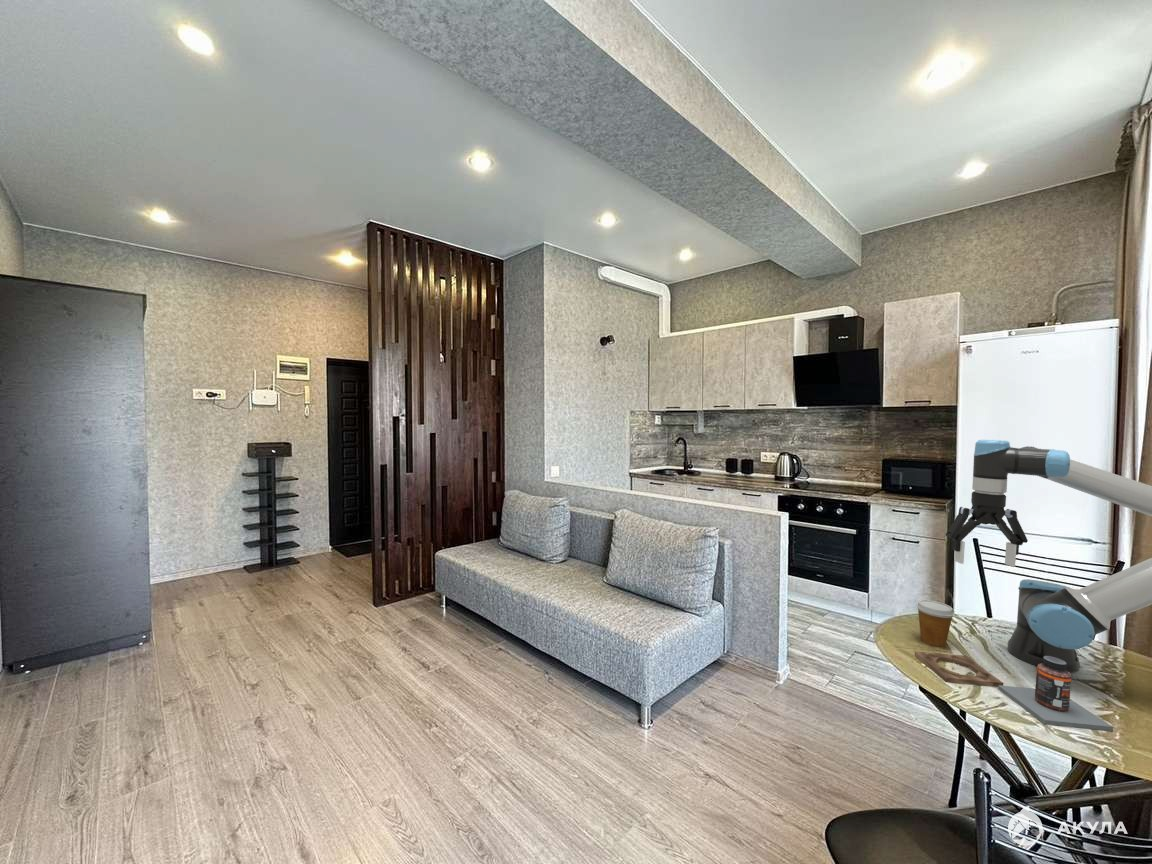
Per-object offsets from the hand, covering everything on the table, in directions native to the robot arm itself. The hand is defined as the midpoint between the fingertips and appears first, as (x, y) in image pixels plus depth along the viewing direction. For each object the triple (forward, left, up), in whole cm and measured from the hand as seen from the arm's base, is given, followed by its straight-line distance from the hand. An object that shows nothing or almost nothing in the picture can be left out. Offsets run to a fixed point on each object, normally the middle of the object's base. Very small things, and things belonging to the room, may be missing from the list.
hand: (984, 564), depth 135 cm
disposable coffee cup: (+7, -9, -29) cm, 31 cm away
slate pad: (-1, +23, -29) cm, 37 cm away
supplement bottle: (-1, +23, -28) cm, 36 cm away
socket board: (+11, +8, -29) cm, 32 cm away
